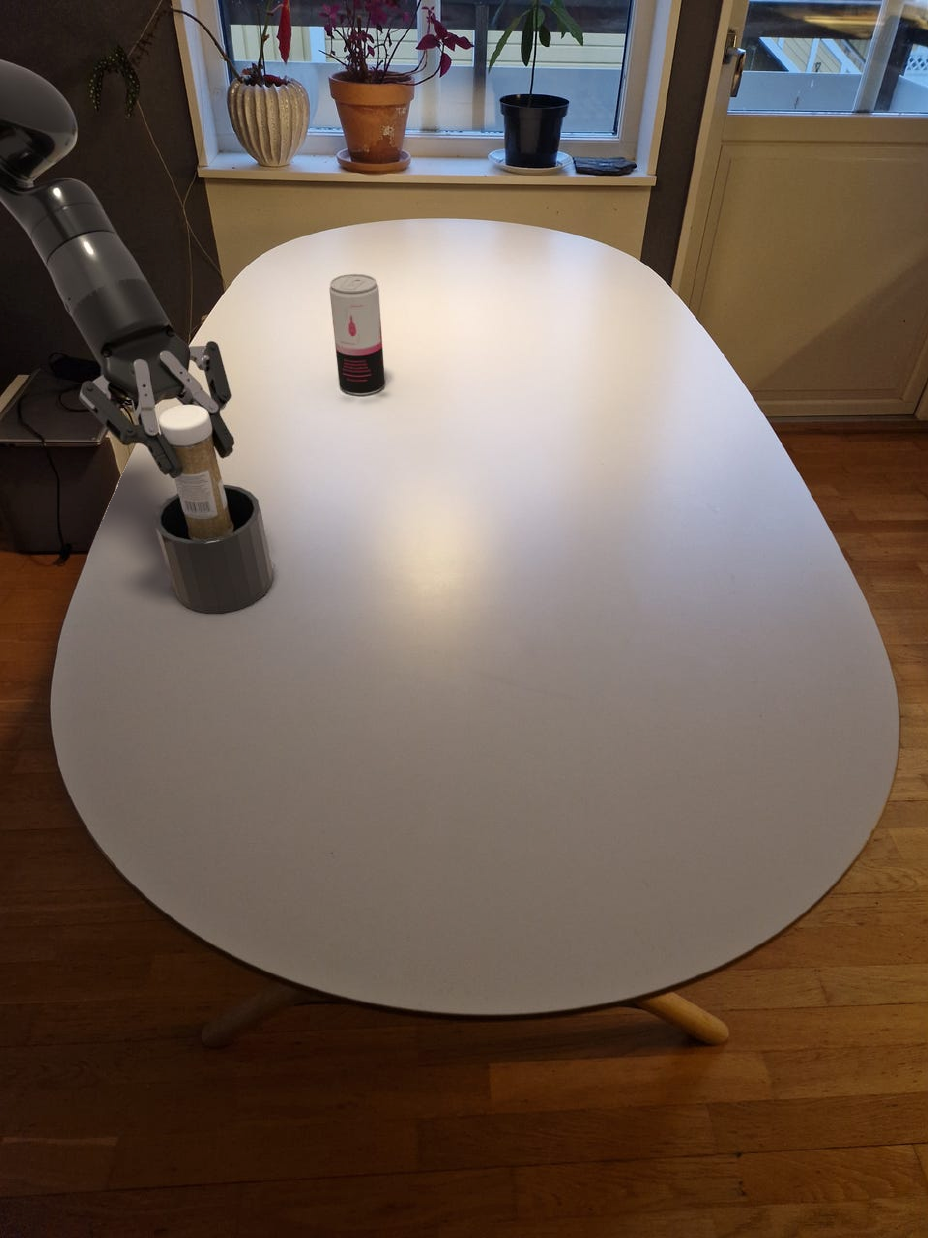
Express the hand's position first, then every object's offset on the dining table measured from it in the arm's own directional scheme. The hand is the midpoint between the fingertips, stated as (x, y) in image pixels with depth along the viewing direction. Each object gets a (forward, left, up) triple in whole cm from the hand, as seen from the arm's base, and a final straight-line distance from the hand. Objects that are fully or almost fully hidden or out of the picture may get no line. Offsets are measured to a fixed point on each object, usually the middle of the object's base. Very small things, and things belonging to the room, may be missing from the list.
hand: (203, 463), depth 80 cm
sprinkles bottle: (-1, +2, -9) cm, 9 cm away
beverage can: (+23, +41, -16) cm, 50 cm away
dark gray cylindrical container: (-1, +2, -15) cm, 16 cm away
